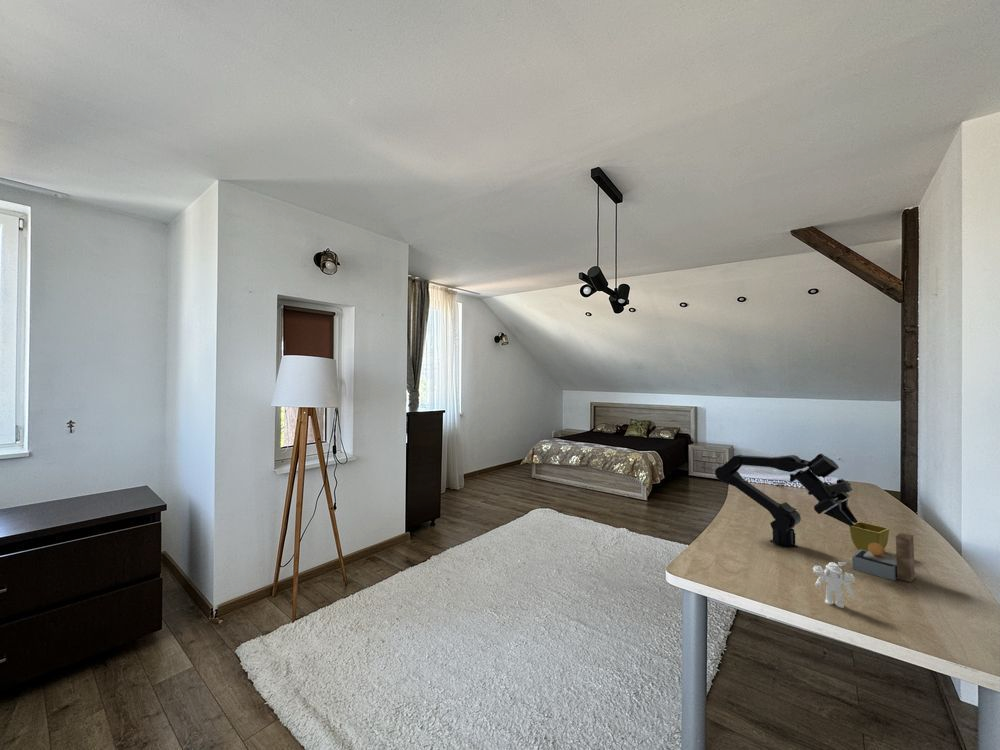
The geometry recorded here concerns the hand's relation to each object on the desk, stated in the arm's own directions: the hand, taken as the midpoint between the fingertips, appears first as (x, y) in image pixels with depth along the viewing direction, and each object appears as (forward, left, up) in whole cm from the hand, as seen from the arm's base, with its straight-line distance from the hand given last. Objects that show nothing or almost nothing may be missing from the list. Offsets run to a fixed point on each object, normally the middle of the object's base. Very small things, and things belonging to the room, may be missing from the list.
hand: (854, 524), depth 134 cm
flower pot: (+15, +10, -14) cm, 23 cm away
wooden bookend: (+5, -7, -13) cm, 16 cm away
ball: (+3, -4, -7) cm, 9 cm away
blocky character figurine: (-29, -24, -14) cm, 40 cm away
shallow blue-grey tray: (+3, -4, -14) cm, 15 cm away
